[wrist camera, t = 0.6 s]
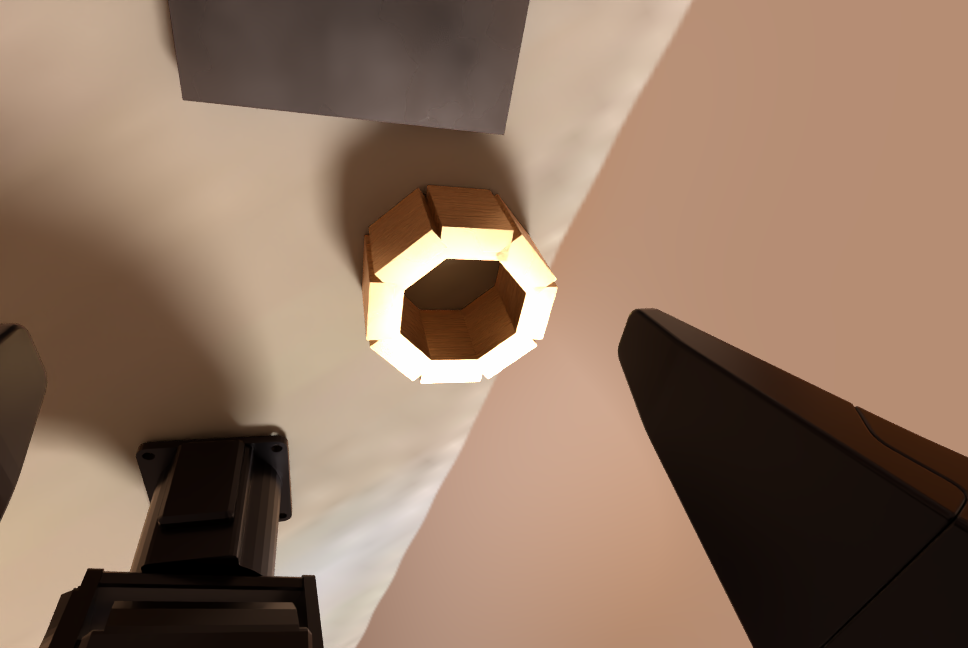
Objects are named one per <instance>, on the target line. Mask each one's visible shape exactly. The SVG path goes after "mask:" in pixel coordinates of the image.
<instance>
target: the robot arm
mask: <svg viewBox="0 0 968 648" xmlns="http://www.w3.org/2000/svg"><path fill="white" fill-rule="evenodd" d="M618 357H619V361H620V363H621V366H622V369H623V372H624V374H625V377H626V380H627V382H628V385H629V388H630V391H631V393H632V396H633V399H634V401H635V404H636V407H637V410H638V412H639V415H640V418H641V420H642V422H643V425H644V428H645V430H646V432H647V434H648V436H649V439H650V441H651V443H652V445H653V447H654V449H655V451H656V453H657V455H658V457H659V459H660V461H661V463H662V465H663V467H664V469H665V471H666V473H667V475H668V477H669V479H670V481H671V483H672V485H673V487H674V489H675V491H676V493H677V495H678V497H679V499H680V501H681V503H682V505H683V507H684V509H685V511H686V513H687V515H688V517H689V519H690V521H691V523H692V525H693V527H694V529H695V531H696V533H697V535H698V538H699V539H700V542H701V544H702V546H703V548H704V550H705V552H706V554H707V556H708V558H709V560H710V562H711V564H712V566H713V568H714V570H715V572H716V574H717V576H718V578H719V580H720V582H721V584H722V586H723V588H724V590H725V592H726V594H727V596H728V598H729V600H730V602H731V604H732V606H733V608H734V610H735V612H736V614H737V616H738V618H739V620H740V622H741V624H742V626H743V628H744V630H745V632H746V634H747V636H748V638H749V640H750V642H751V644H752V646H753V648H968V457H966V456H964V455H962V454H959V453H957V452H955V451H953V450H950V449H948V448H946V447H944V446H941V445H939V444H937V443H935V442H932V441H930V440H928V439H926V438H923V437H921V436H919V435H917V434H915V433H913V432H911V431H908V430H906V429H904V428H902V427H900V426H898V425H895V424H894V423H891V422H889V421H887V420H885V419H883V418H881V417H879V416H877V415H875V414H873V413H871V412H868V411H866V410H864V409H862V408H860V407H858V406H856V407H854V406H853V404H851V403H850V402H848V401H846V400H844V399H841V398H839V397H837V396H835V395H833V394H831V393H829V392H827V391H825V390H823V389H821V388H819V387H817V386H815V385H813V384H810V383H808V382H806V381H804V380H802V379H800V378H798V377H796V376H794V375H792V374H790V373H788V372H786V371H784V370H782V369H780V368H778V367H776V366H773V365H771V364H769V363H767V362H765V361H763V360H761V359H759V358H757V357H755V356H752V355H751V354H749V353H747V352H745V351H743V350H740V349H738V348H736V347H734V346H732V345H730V344H728V343H726V342H724V341H722V340H720V339H718V338H716V337H714V336H711V335H710V334H707V333H705V332H703V331H701V330H699V329H697V328H695V327H693V326H691V325H689V324H687V323H685V322H683V321H680V320H678V319H676V318H675V317H672V316H670V315H668V314H666V313H664V312H662V311H660V310H658V309H654V308H645V309H635V310H633V311H632V312H631V313H630V315H629V317H628V320H627V323H626V326H625V328H624V332H623V335H622V337H621V340H620V343H619V346H618ZM46 387H47V375H46V371H45V368H44V366H43V364H42V361H41V359H40V357H39V354H38V352H37V350H36V347H35V345H34V343H33V340H32V338H31V336H30V334H29V332H28V330H27V329H26V328H25V327H24V326H22V325H20V324H17V323H6V324H0V521H1V519H2V517H3V515H4V513H5V510H6V508H7V506H8V504H9V501H10V499H11V497H12V494H13V492H14V489H15V487H16V484H17V481H18V478H19V475H20V473H21V469H22V466H23V463H24V460H25V456H26V453H27V450H28V447H29V443H30V440H31V437H32V434H33V430H34V427H35V424H36V421H37V417H38V414H39V411H40V408H41V404H42V401H43V398H44V395H45V391H46ZM275 445H279V446H275ZM136 458H137V462H138V465H139V468H140V471H141V475H142V478H143V481H144V484H145V487H146V491H147V494H148V497H149V500H150V507H149V510H148V513H147V517H146V520H145V523H144V526H143V530H142V533H141V536H140V540H139V543H138V546H137V550H136V553H135V556H134V559H133V563H132V566H131V569H130V572H109V571H104V569H93V568H88V569H87V571H86V574H85V576H84V579H83V581H82V583H81V586H78V588H74V589H73V590H72V591H69V592H67V593H64V594H62V595H61V597H60V599H59V602H58V604H57V607H56V610H55V612H54V615H53V617H52V620H51V622H50V625H49V627H48V630H47V632H46V634H45V636H44V639H43V641H42V643H41V645H40V647H39V648H324V646H323V638H322V630H321V621H320V613H319V604H318V596H317V587H316V579H315V575H302V577H281V576H274V570H275V558H276V546H277V534H278V522H280V521H286V520H288V519H290V518H291V516H292V498H291V481H290V465H289V448H288V440H287V439H286V438H285V437H283V436H277V435H276V436H257V437H238V438H220V439H201V440H182V441H163V442H147V443H143V444H141V445H140V446H139V448H138V451H137V453H136Z"/></svg>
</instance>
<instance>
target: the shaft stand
mask: <svg viewBox="0 0 968 648" xmlns="http://www.w3.org/2000/svg"><path fill="white" fill-rule="evenodd" d="M168 3H169V10H170V17H171V23H172V30H173V37H174V44H175V51H176V57H177V64H178V71H179V78H180V85H181V91H182V98H183V100H187V101H196V102H206V103H215V104H224V105H233V106H242V107H251V108H261V109H270V110H279V111H288V112H297V113H307V114H316V115H325V116H334V117H343V118H352V119H362V120H371V121H380V122H389V123H398V124H407V125H417V126H426V127H435V128H444V129H453V130H463V131H472V132H481V133H490V134H499V135H504V132H505V126H506V121H507V116H508V111H509V105H510V100H511V95H512V90H513V84H514V79H515V74H516V69H517V63H518V58H519V53H520V48H521V42H522V37H523V32H524V27H525V21H526V16H527V11H528V6H529V0H168Z"/></svg>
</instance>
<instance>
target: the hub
mask: <svg viewBox="0 0 968 648" xmlns="http://www.w3.org/2000/svg"><path fill="white" fill-rule="evenodd" d="M445 259H471V260H497V261H500V264H499V269H498V273H497V278H496V283H495V286H494V287H492V288H491V289H490V290H488V291H487V292H485V293H484V294H483V295H481V296H480V297H479V298H477V299H476V300H474V301H473V302H472V303H470V304H469V305H467V306H466V307H465V308H463V309H462V310H420V309H418V308H417V307H416V306H415V305H414V304H413V303H412V302H411V301H410V300H409V299H408V298H407V297H406V296H405V295H404V290H406V289H407V288H408V287H409V286H411V285H412V284H413V283H415V282H416V281H417V280H419V279H420V278H421V277H423V276H424V275H425V274H427V273H428V272H429V271H431V270H432V269H433V268H435V267H436V266H437V265H439V264H440V263H441V262H443V261H444V260H445ZM555 280H556V278H555V276H554V274H553V273H552V271H551V270H550V268H549V266H548V265H547V263H546V262H545V260H544V258H543V257H542V255H541V254H540V252H539V250H538V249H537V247H536V246H535V244H534V242H533V241H532V239H531V238H530V236H529V235H528V233H527V232H526V231H525V229H524V228H523V227H522V225H521V224H520V223H519V221H518V220H517V219H516V217H515V216H514V215H513V213H512V212H511V211H510V210H509V208H508V207H507V206H506V204H505V203H504V202H503V200H502V199H501V198H500V196H499V195H498V194H497V195H495V196H493V194H492V192H491V191H490V190H487V189H474V188H461V187H448V186H436V185H427V192H426V196H425V195H424V194H423V193H422V192H421V191H420V189H419V188H417V189H416V190H415V191H413V192H412V193H411V194H410V195H408V196H407V197H406V198H405V199H403V200H402V201H401V202H400V203H398V204H397V205H396V206H395V207H393V208H392V209H391V210H390V211H388V212H387V213H386V214H385V215H383V216H382V217H381V218H380V219H378V220H377V221H376V222H375V223H373V224H372V225H371V226H370V227H369V235H364V255H363V277H362V294H363V306H364V317H365V328H366V340H369V342H370V348H372V349H373V350H374V351H375V352H377V353H378V354H379V355H381V356H382V357H383V358H384V359H386V360H387V361H388V362H389V363H391V364H392V365H393V366H394V367H396V368H397V369H398V370H399V371H401V372H402V373H403V374H405V375H406V376H407V377H408V378H410V379H411V380H412V381H413V380H415V379H416V378H418V377H420V382H421V383H448V382H480V380H481V375H482V373H483V374H484V375H485V376H486V377H487V378H488V379H489V378H490V377H492V376H493V375H495V374H496V373H498V372H499V371H501V370H502V369H504V368H505V367H507V366H508V365H509V364H511V363H512V362H514V361H515V360H517V359H518V358H520V357H521V356H523V355H524V354H526V353H527V352H529V351H530V350H531V349H533V348H534V347H536V346H537V344H536V342H535V340H534V339H542V338H543V335H544V332H545V329H546V325H547V322H548V318H549V315H550V312H551V308H552V305H553V302H554V298H555V295H556V291H557V285H556V283H555V282H554V281H555Z"/></svg>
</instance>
